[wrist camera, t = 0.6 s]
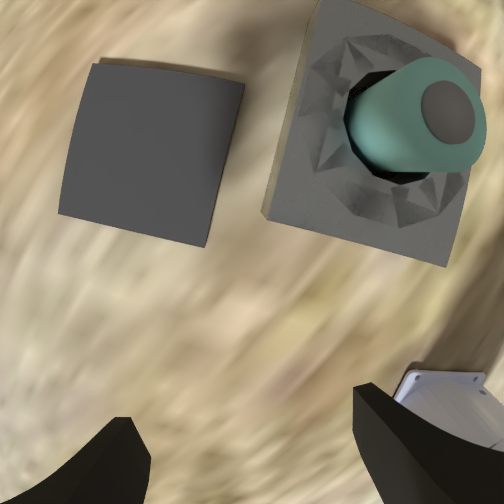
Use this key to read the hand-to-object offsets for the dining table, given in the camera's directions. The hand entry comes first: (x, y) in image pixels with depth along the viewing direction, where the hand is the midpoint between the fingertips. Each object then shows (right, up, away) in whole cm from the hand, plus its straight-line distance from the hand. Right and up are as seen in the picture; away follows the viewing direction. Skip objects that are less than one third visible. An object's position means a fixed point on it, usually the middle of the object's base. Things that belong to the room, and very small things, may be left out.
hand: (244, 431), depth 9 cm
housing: (+7, +12, +8) cm, 16 cm away
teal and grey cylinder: (+7, +12, +8) cm, 16 cm away
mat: (-6, +11, +7) cm, 15 cm away
